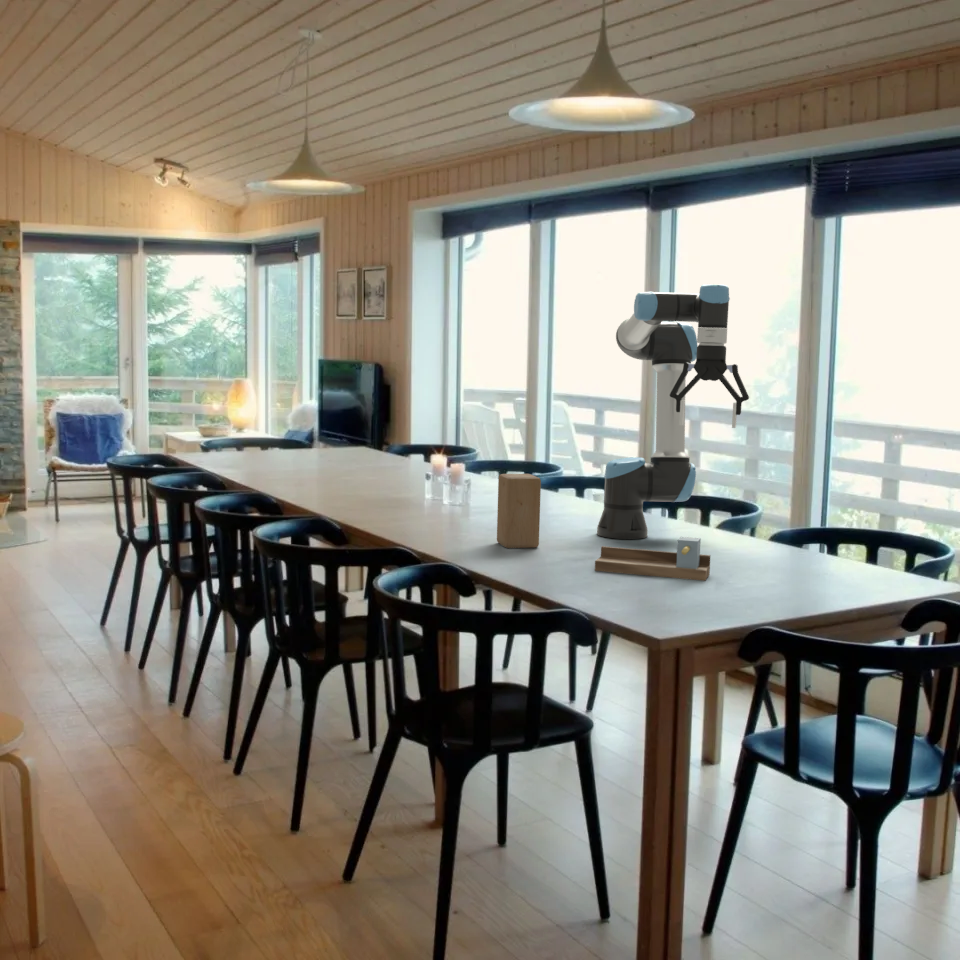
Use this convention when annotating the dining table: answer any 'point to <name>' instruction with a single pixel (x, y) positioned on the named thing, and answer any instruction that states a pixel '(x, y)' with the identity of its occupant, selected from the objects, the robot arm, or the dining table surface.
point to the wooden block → (518, 510)
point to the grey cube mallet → (688, 552)
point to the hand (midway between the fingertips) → (707, 426)
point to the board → (649, 563)
